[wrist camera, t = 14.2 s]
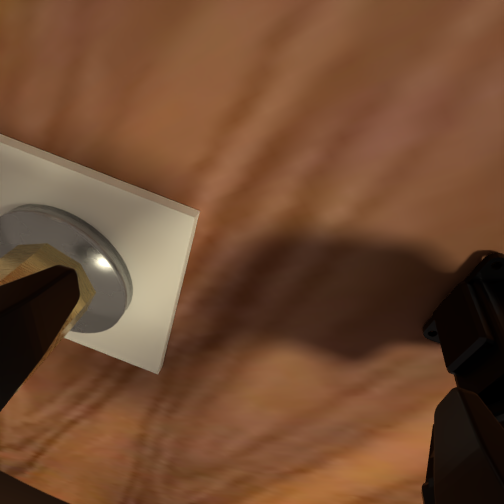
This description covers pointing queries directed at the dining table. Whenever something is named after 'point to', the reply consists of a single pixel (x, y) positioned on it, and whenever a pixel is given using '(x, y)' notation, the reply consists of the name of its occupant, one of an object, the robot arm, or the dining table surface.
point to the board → (113, 241)
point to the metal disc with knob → (75, 258)
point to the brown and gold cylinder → (39, 258)
